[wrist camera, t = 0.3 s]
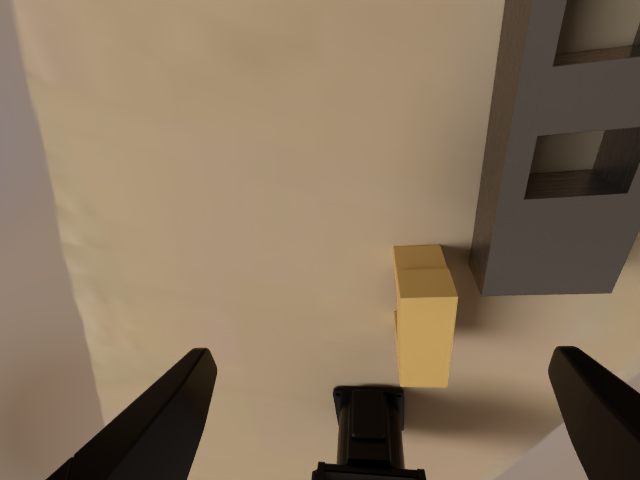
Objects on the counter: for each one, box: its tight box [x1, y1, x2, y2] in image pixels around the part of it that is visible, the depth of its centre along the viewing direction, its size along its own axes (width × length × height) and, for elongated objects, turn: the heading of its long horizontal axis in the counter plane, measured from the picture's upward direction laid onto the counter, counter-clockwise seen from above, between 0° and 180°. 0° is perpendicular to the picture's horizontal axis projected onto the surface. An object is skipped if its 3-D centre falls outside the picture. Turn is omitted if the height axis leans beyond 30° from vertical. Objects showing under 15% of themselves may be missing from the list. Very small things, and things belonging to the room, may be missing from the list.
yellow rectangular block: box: [393, 245, 458, 388], centre depth 23 cm, size 8×3×5 cm, turn 7°
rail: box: [469, 0, 640, 296], centre depth 16 cm, size 22×7×3 cm, turn 7°
